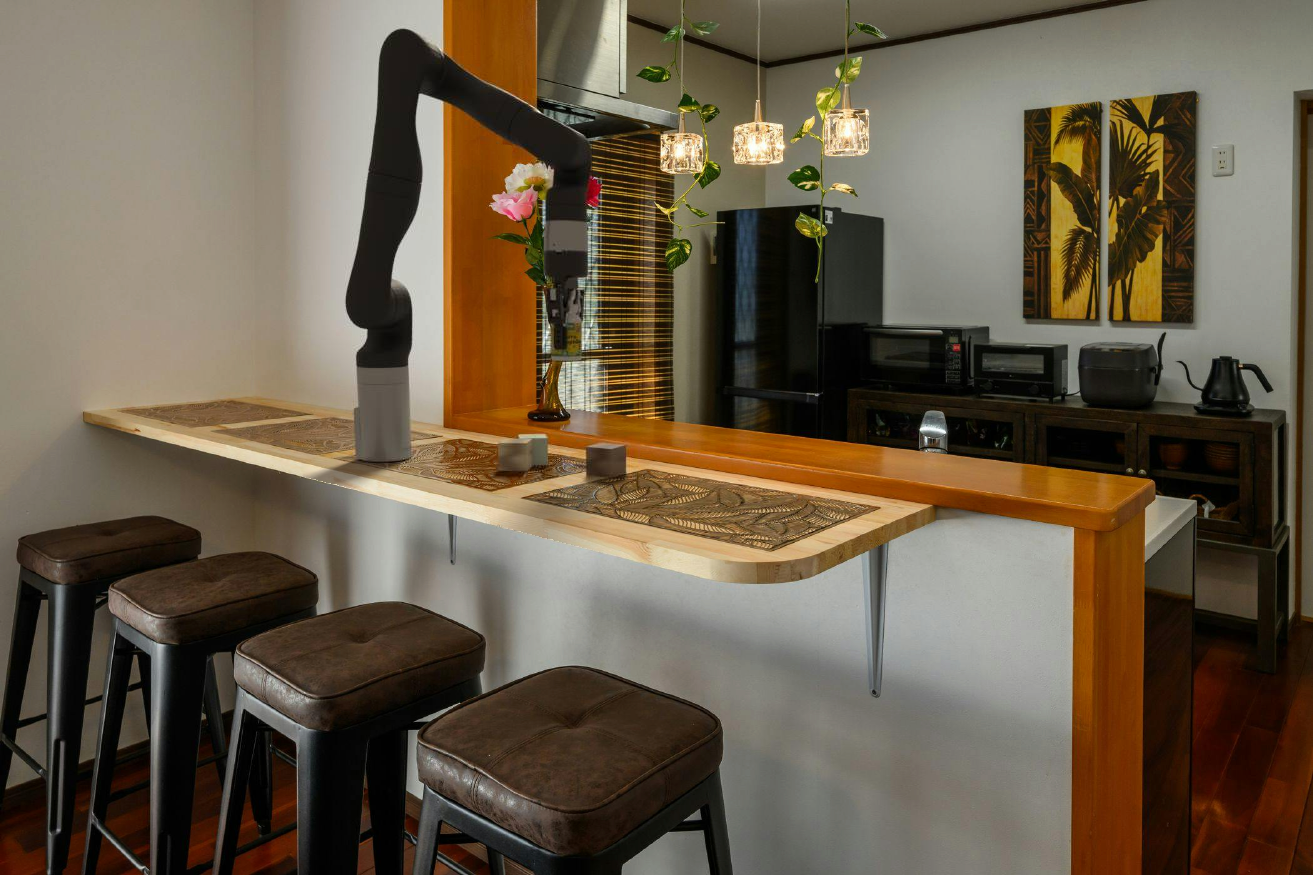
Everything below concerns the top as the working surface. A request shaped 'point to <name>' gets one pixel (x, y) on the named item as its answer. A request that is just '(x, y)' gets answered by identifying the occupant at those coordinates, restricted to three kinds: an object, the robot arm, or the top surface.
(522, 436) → the sage block
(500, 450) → the oak block
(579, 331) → the supplement bottle
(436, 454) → the top surface
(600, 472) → the walnut block
